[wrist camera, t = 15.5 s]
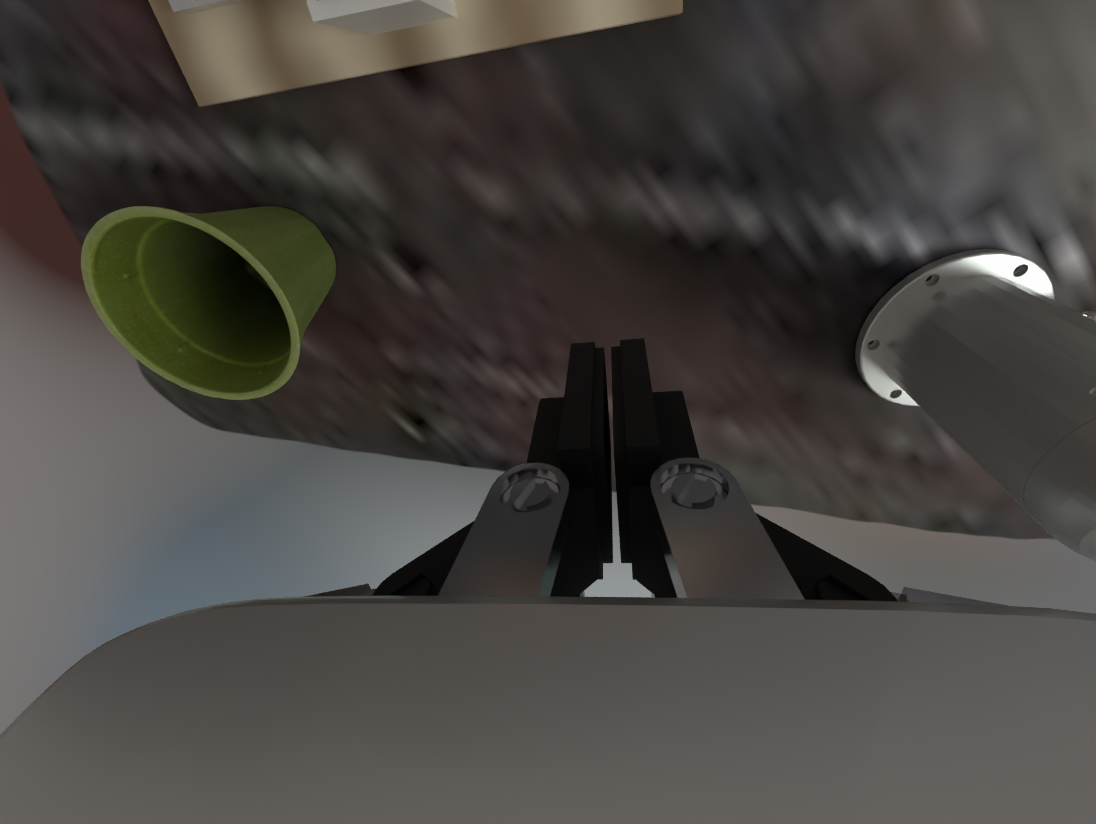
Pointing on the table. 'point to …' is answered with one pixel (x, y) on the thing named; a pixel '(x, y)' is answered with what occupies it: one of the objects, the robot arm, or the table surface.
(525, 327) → the table surface
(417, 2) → the box
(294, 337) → the plant pot
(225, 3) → the rail
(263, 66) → the rail board
